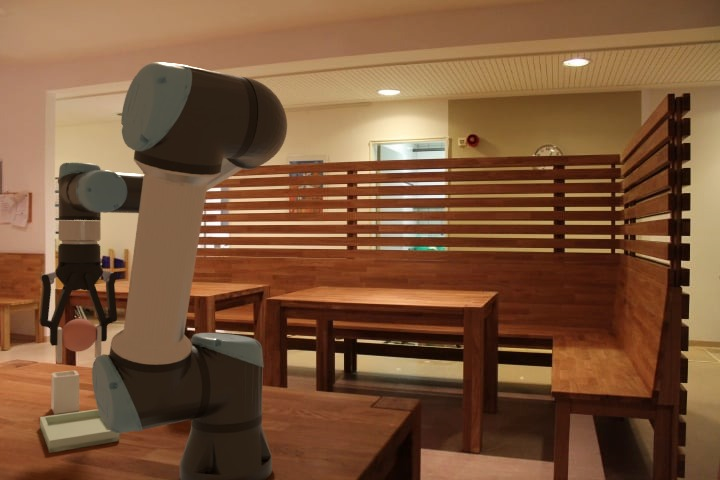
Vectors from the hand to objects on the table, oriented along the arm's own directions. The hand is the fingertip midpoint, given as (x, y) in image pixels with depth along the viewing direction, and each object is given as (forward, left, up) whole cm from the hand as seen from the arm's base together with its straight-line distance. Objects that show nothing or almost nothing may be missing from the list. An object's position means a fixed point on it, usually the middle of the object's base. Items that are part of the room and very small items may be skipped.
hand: (78, 359), depth 120 cm
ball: (0, 0, +5) cm, 5 cm away
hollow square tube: (+19, 0, -15) cm, 24 cm away
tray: (0, 0, -15) cm, 15 cm away
